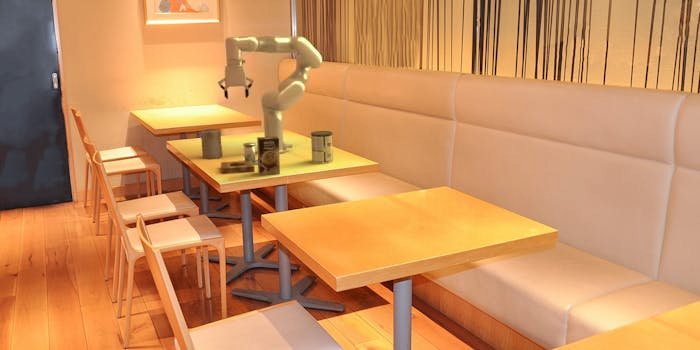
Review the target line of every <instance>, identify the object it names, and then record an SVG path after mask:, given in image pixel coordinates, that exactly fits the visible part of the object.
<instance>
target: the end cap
mask: <svg viewBox="0 0 700 350" xmlns="http://www.w3.org/2000/svg"><path fill="white" fill-rule="evenodd" d="M242 146H243V150H244V160H245V161H252V163H255V160H256V142H245V143H243V144H242Z"/></svg>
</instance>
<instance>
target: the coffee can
mask: <svg viewBox="0 0 700 350" xmlns="http://www.w3.org/2000/svg"><path fill="white" fill-rule="evenodd" d="M310 138H311V141H310V142H311V163H314V164H329V163H330V164H331V163H332V162H334V158H333V157H334V156H333V155H334V154H333V132H332V131H328V130H317V131H312V132H310Z"/></svg>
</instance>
